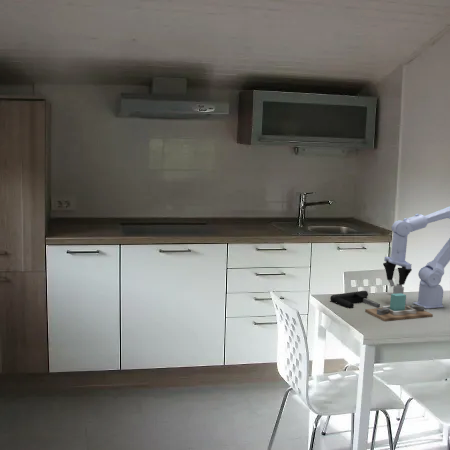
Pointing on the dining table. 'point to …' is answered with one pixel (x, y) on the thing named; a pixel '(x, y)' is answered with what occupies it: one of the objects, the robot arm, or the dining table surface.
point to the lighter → (396, 287)
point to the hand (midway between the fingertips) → (395, 282)
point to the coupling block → (397, 302)
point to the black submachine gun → (353, 299)
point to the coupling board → (399, 313)
